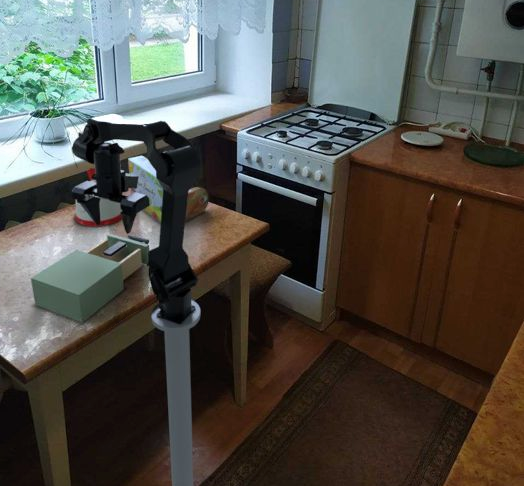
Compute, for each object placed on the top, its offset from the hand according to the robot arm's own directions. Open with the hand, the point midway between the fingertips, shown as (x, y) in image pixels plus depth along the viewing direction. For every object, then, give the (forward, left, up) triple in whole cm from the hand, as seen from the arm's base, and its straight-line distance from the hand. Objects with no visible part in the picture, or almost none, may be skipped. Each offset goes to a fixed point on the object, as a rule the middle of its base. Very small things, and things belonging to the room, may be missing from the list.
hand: (113, 228), depth 120 cm
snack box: (+12, -32, -12) cm, 36 cm away
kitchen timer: (+24, -21, -12) cm, 35 cm away
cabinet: (0, +13, -12) cm, 17 cm away
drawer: (0, -1, -11) cm, 11 cm away
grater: (0, 0, -10) cm, 10 cm away
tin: (0, -34, -12) cm, 36 cm away
